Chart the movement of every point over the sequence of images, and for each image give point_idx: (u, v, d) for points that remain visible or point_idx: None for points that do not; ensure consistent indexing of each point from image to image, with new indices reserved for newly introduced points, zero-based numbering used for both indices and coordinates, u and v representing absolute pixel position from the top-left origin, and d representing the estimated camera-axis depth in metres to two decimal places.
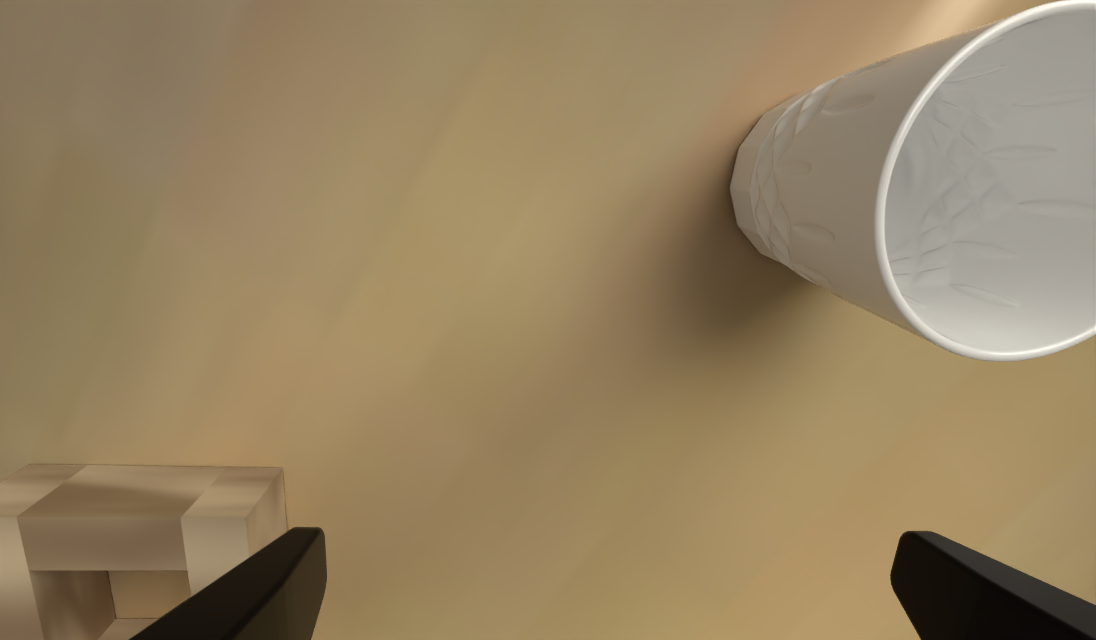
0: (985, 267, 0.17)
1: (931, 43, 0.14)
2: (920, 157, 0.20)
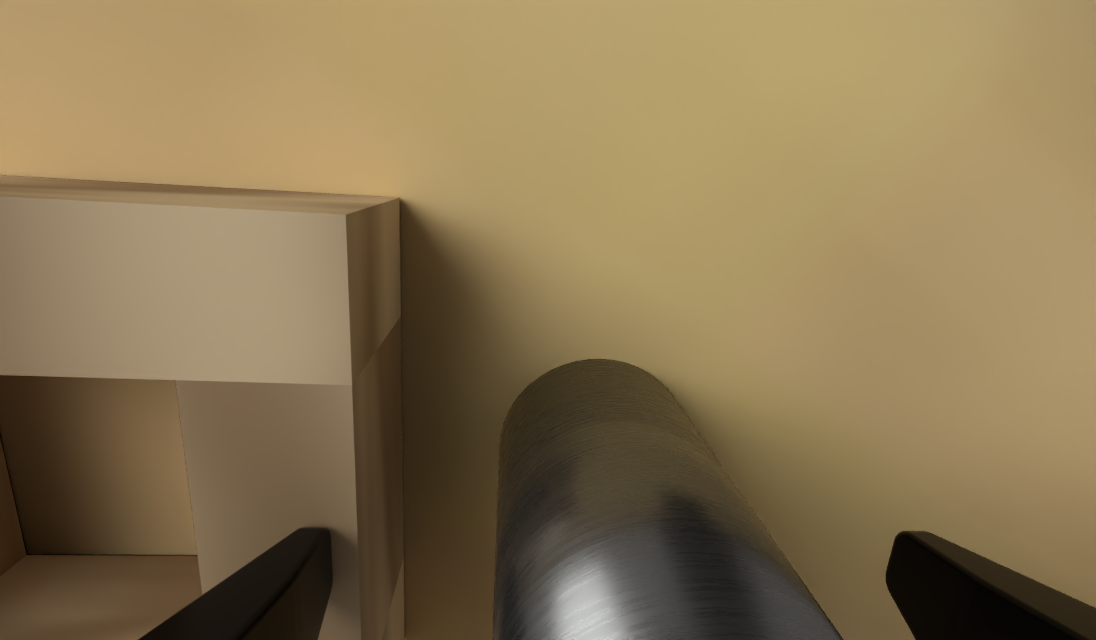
0: None
1: None
2: None
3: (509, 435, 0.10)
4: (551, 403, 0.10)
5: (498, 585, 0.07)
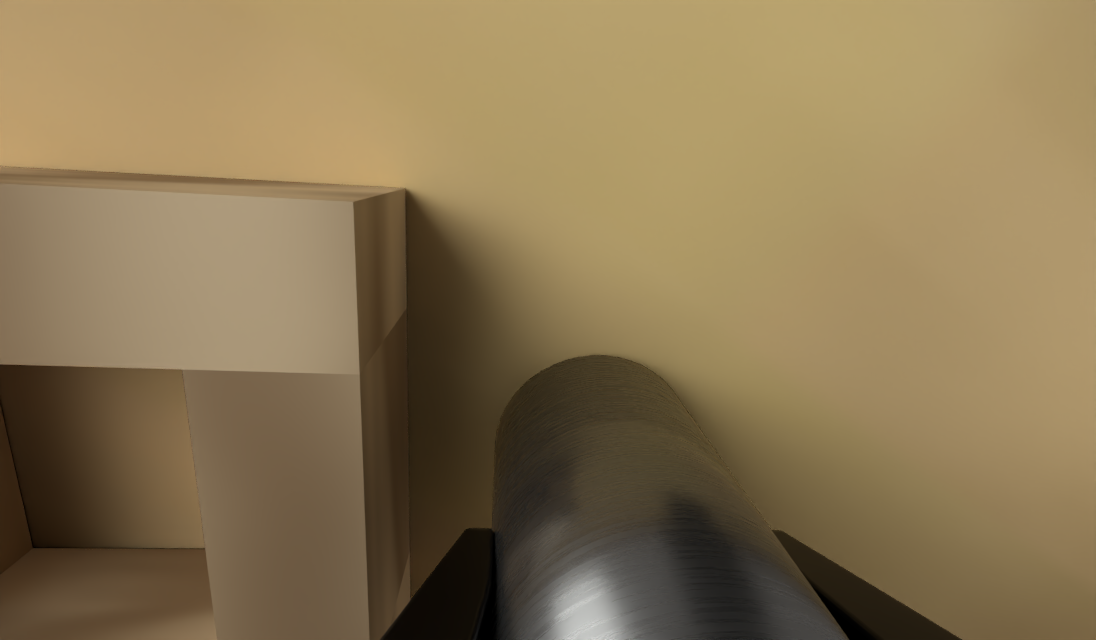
0: None
1: None
2: None
3: (507, 431, 0.10)
4: (553, 399, 0.09)
5: (494, 592, 0.07)
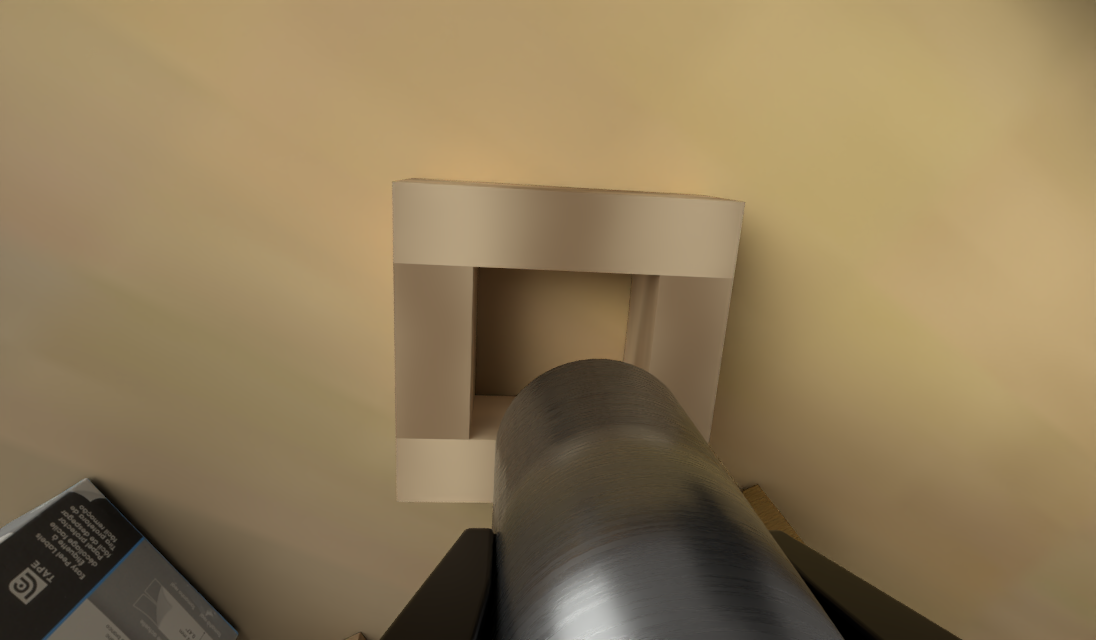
0: None
1: None
2: None
3: (507, 435, 0.10)
4: (553, 403, 0.09)
5: (495, 598, 0.07)
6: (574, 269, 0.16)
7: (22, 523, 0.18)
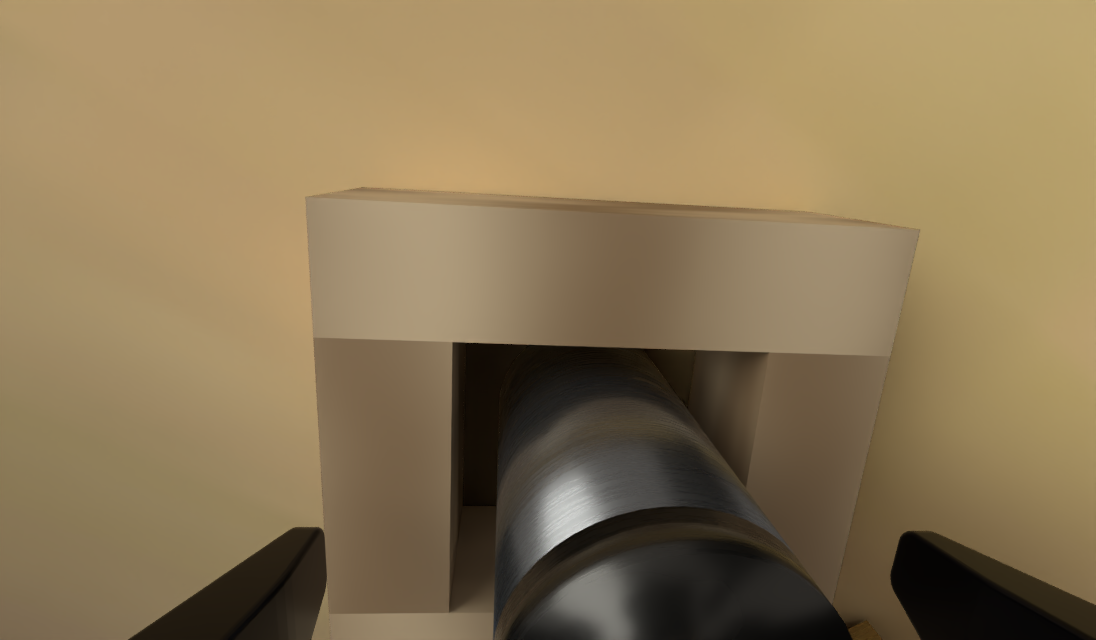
0: None
1: None
2: None
3: (510, 385, 0.12)
4: (547, 357, 0.12)
5: (501, 488, 0.09)
6: (625, 344, 0.10)
7: None
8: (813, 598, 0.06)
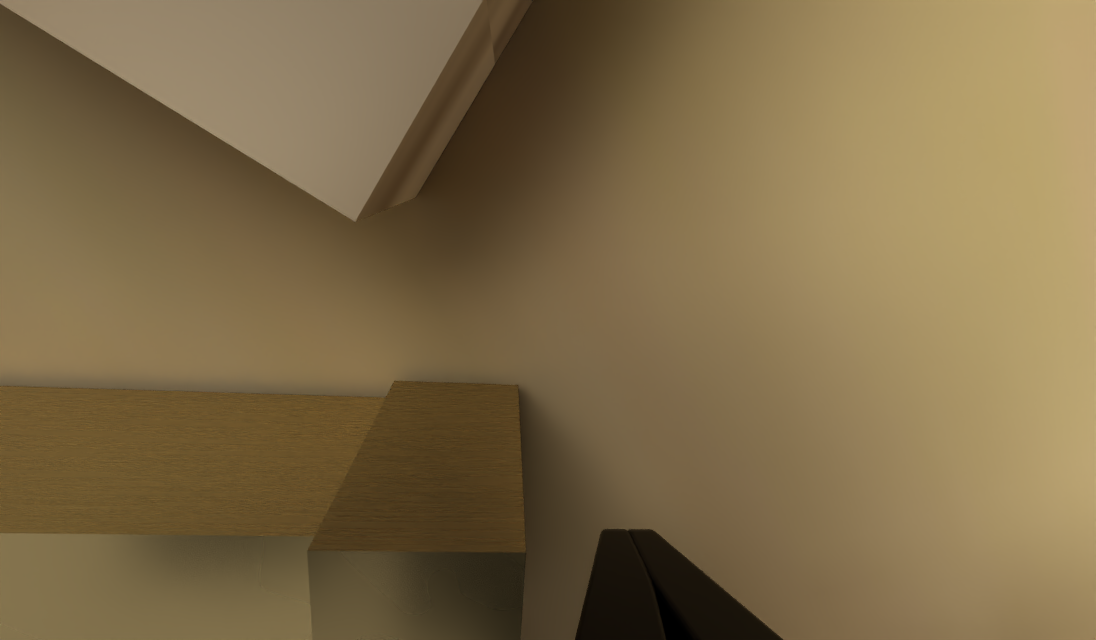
0: None
1: None
2: None
3: None
4: None
5: None
6: None
7: None
8: None
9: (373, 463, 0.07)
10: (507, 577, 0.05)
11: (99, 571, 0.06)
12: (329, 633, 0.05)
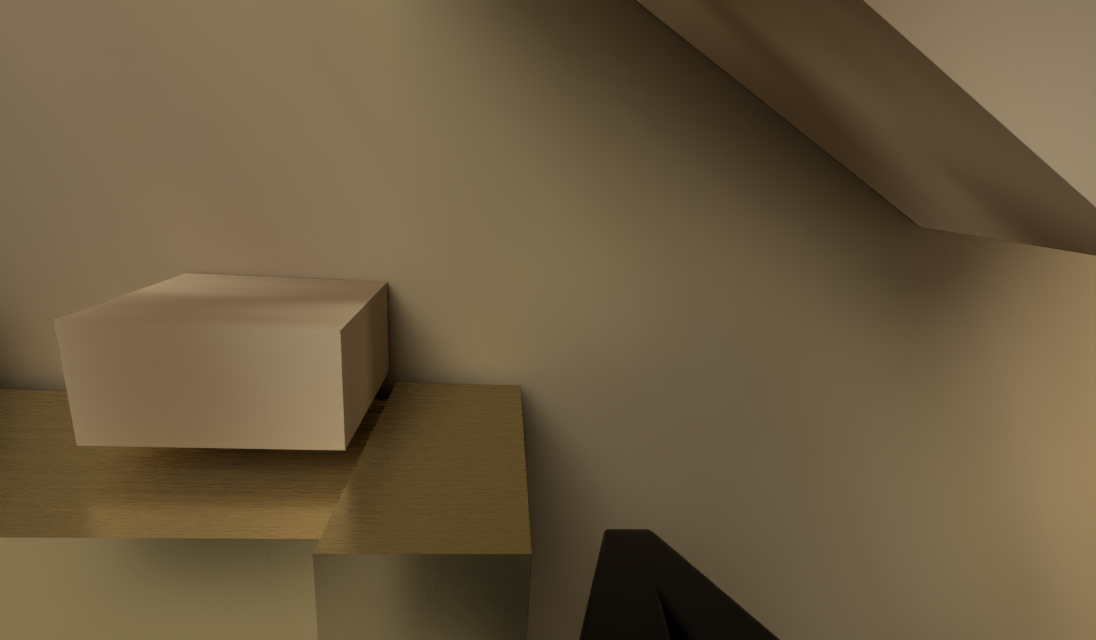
0: None
1: None
2: None
3: None
4: None
5: None
6: None
7: None
8: None
9: (376, 464, 0.07)
10: (513, 579, 0.05)
11: (103, 574, 0.06)
12: (335, 635, 0.05)
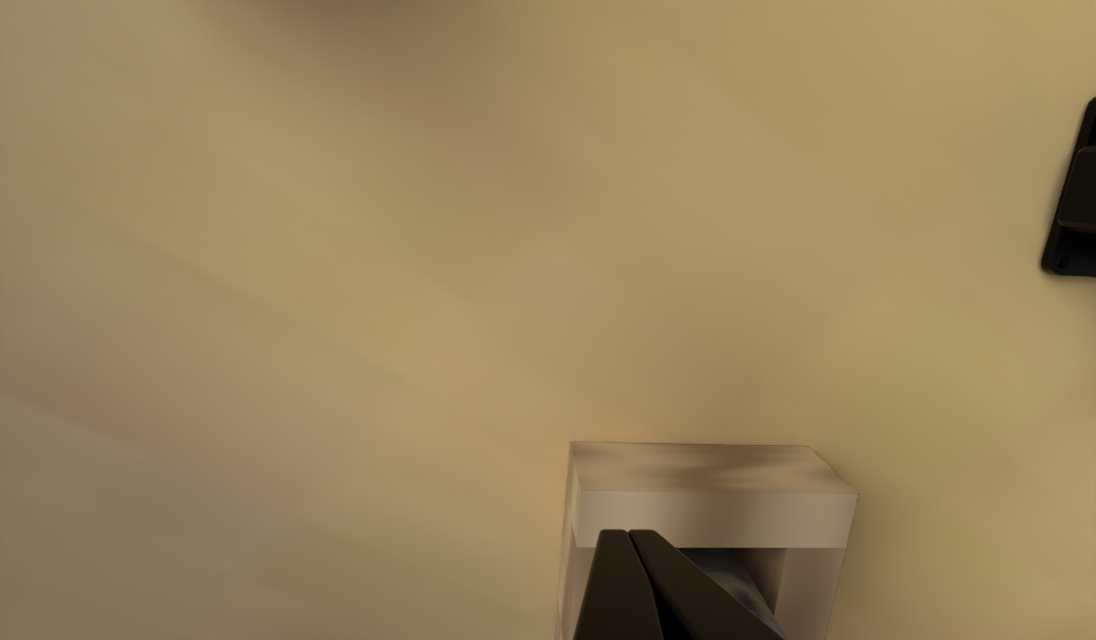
0: None
1: None
2: None
3: None
4: None
5: None
6: (719, 546, 0.20)
7: None
8: None
9: None
10: None
11: None
12: None
